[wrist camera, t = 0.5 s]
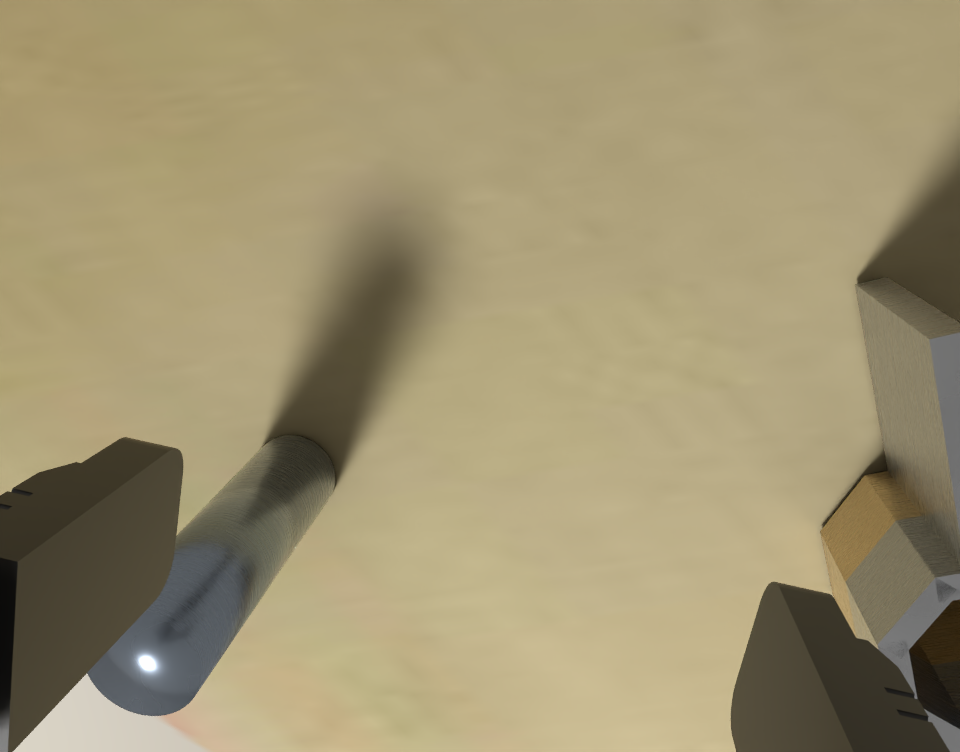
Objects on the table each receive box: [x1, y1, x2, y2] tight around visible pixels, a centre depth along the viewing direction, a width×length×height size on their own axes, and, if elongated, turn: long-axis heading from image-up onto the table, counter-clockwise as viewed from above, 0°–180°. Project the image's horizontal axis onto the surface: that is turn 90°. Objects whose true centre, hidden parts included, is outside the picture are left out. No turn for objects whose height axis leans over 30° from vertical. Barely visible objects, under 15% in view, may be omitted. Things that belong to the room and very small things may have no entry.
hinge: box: [820, 277, 960, 752], centre depth 28 cm, size 20×6×7 cm, turn 16°
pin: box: [87, 435, 335, 716], centre depth 28 cm, size 3×3×12 cm
